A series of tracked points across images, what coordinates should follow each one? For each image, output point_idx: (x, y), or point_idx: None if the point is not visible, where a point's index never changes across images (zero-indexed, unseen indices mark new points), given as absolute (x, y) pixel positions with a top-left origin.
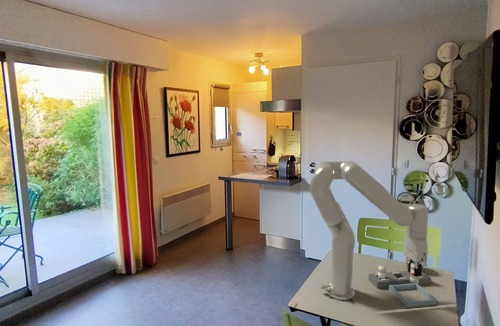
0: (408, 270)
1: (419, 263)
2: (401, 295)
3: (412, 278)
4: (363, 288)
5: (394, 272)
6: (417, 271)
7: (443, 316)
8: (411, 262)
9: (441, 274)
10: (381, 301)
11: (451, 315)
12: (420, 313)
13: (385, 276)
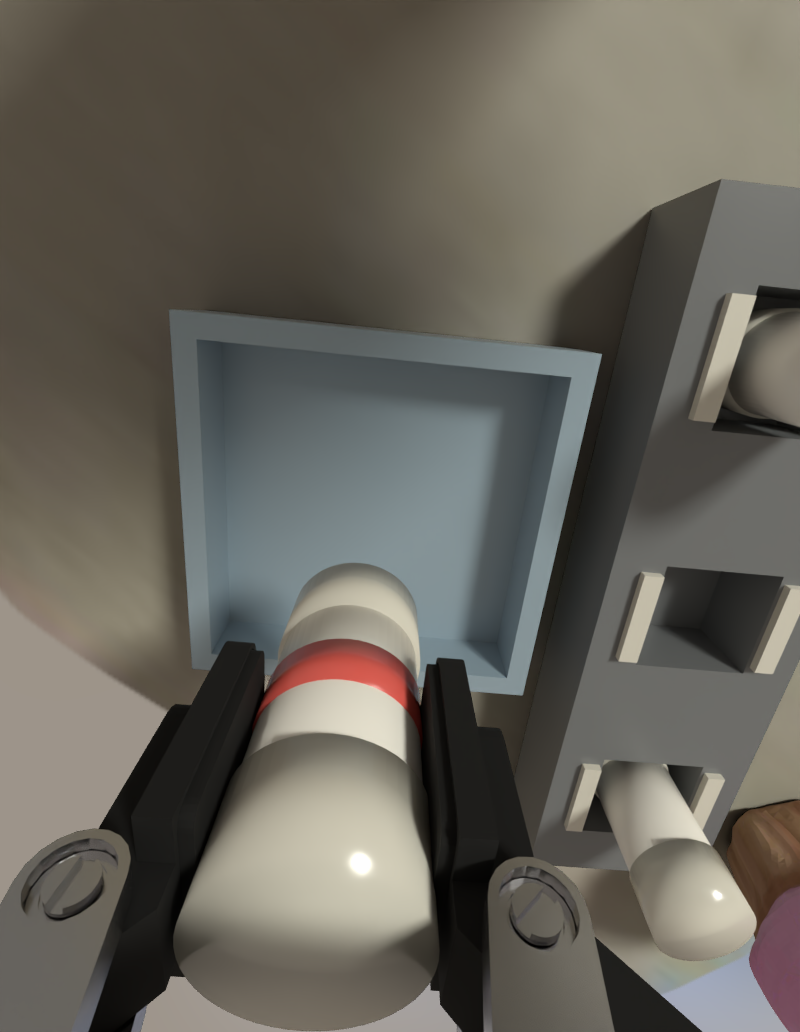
0: (446, 678)
1: (767, 953)
2: (331, 345)
3: (322, 609)
4: (781, 17)
5: (797, 617)
6: (143, 774)
7: (60, 568)
8: (449, 944)
9: (619, 952)
10: (408, 74)
11: (74, 637)
12: (113, 396)
13: (772, 408)
